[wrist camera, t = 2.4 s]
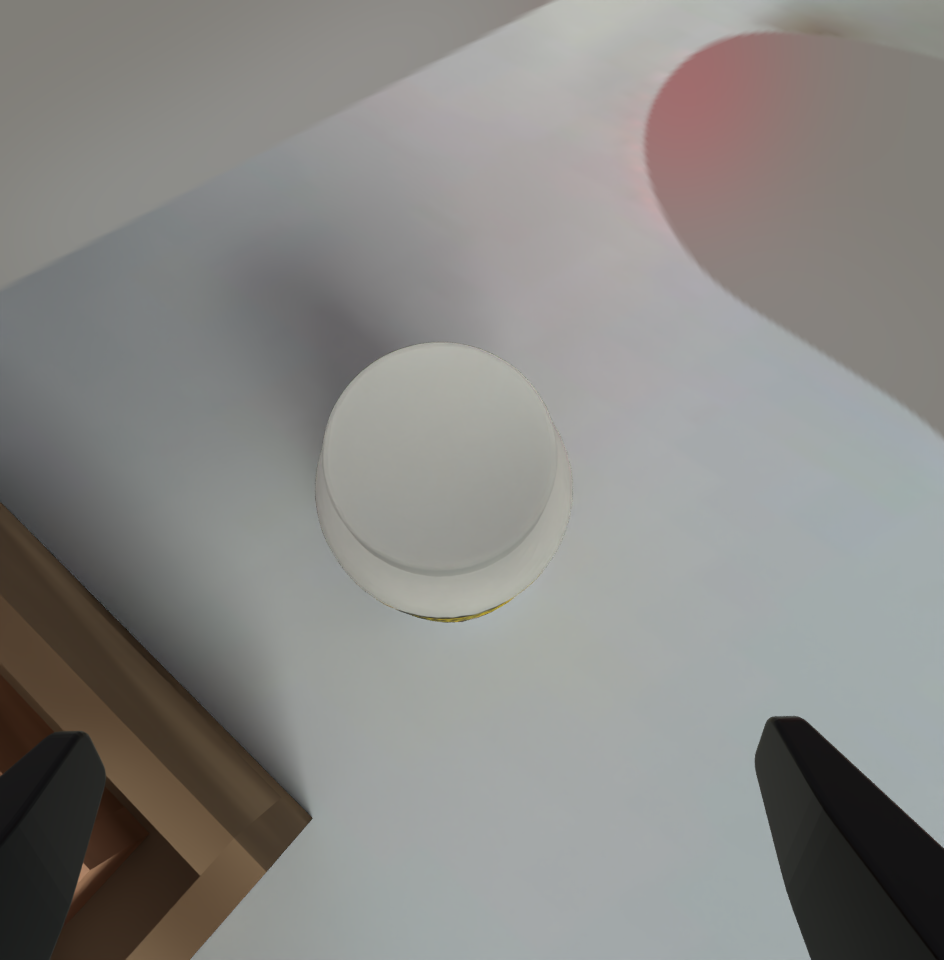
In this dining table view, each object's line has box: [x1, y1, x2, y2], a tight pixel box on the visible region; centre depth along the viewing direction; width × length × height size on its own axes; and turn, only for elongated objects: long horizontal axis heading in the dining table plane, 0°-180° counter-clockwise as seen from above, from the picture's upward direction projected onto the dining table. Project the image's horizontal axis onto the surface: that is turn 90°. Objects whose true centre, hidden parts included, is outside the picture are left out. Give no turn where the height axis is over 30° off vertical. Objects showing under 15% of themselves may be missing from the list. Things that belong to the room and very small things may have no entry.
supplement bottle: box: [315, 342, 573, 622], centre depth 16 cm, size 5×5×10 cm
